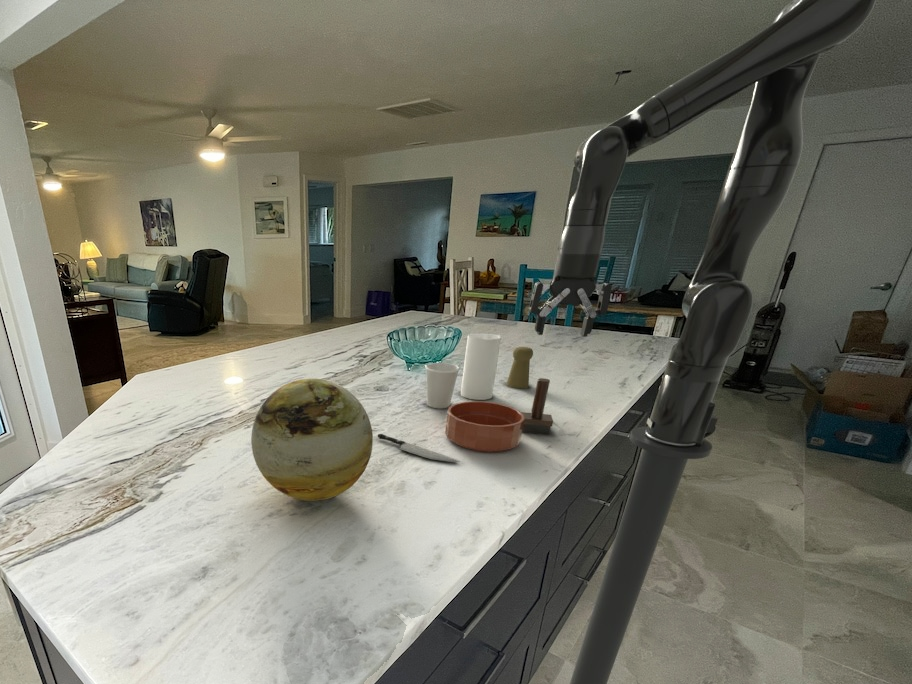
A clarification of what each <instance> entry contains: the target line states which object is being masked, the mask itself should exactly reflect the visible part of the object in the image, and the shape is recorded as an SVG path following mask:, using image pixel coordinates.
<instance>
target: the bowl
mask: <svg viewBox="0 0 912 684" xmlns="http://www.w3.org/2000/svg"><path fill="white" fill-rule="evenodd" d="M521 412H522V411H520V410H518V409H516V408H514V407H513V406H509V405H506V404H502V403H497V402H491V401H483V400H476V401H475V400H473V401H472V400H471V401H462V402H461V401H460V402H457V403H454V404H452V405H450V406H449V407H447V413H446V420H445V429H444V430H445V431H444V434H445V436H446V438H447V439H449V440H450V441H452V442H453V443H454V444H456V445H457V446H460V447H461V448H464V449H468V450H472V451H477V452H487V453H495V452H504V451H507V450H511V449H513V448H515V447H517V446H519V444H520V443H521V441H522V437H523V436H522V434H523V432H522V430H523V425H524V420H525V418H524V415H523V414H522V413H521Z"/></svg>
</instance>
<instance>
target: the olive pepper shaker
mask: <svg viewBox="0 0 912 684" xmlns="http://www.w3.org/2000/svg"><path fill="white" fill-rule="evenodd" d="M533 355H534V350H533V349H532V348H531V347H528V346H517V347H515V348H514V349H513V351H512V356H513V357H512V358H513V361H512V365H511V368H510V371H509V375H508V377H507V380H506V386H507V387H509V388H514V389H528V388H529V384H530V366H531V365H530V364H531V362H530V360H531V359H532V358H533Z"/></svg>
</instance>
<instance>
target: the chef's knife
mask: <svg viewBox="0 0 912 684" xmlns="http://www.w3.org/2000/svg"><path fill="white" fill-rule="evenodd" d="M377 437H378V439H380V440H384V441H389V442H391V443H394V444H396V445H399V446H400V447H399V450H401V451H404V452H408V453H410V454H413V455H416V456H420V457H422V458H426V459H429V460H435V461H442V462H448V463H452V462H453V463H455V462H461V461H460V460H457V459H455V458H453V457H449V456H447V455H444V454H441V453H438V452H435V451H433V450H430V449H426V448H424V447H420V446H417V445H416V444H412V443H408V442H407V441H404V440H401V439H397V438H394V437H391V436H389V435H385V434H383V433H378V434H377Z"/></svg>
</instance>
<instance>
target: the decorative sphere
mask: <svg viewBox="0 0 912 684" xmlns="http://www.w3.org/2000/svg"><path fill="white" fill-rule="evenodd" d="M373 437H374V436H373V428H372V424H371V420H370V418H369V415H368V413H367V411H366V409H365V407H364V406H363V404H362V403H361V401H360V400H359V399H358V398H357V397H356V396H355V395H354V394H353V393H352V392H351V391H350V390H348V389H347V388H345V387H344V386H342V385H340V384H338V383H335V382H333V381H332V380H328V379H322V378H303V379H298V380H293V381H290V382H289V383H286V384H284V385H282V386H280V387H279V388H277V389H276V390H275V391H273V392H272V393H271V394H270V395H269V396H268V397H267V398H265V400H264V401H263V403H262V405H261V406H260V408H259V409H258V411H257V413H256V416H255V418H254V421H253V425H252V429H251V438H250V439H251V440H250V441H251V443H250V445H251V450H252V451H251V453H252V456H253V459H254V461H255V464H256V466H257V469H258V470H259V472H260V474H261V475H262V476H263V478H264V479H265V480H266V481H267V482H268V484H270V485H271V487H273V488H274V489H276V490H277V491H278V492H280V493H282V494H283V495H285V496H287V497H289V498H293V499H297V500H299V501H307V502H309V501H310V502H312V501H313V502H315V501H324V500H328V499H331V498H335V497H337V496H338V495H341V494H343V493H344V492H346V491H347V490H349V489H350V488H351V487H352V486H354V484H355V483H356V482H358V480H359V479H360V478H361V477H362V475H363V474H364V472H365V471H366V468H367V466H368V464H369V462H370V459H371V456H372V451H373V445H374V441H373V440H374V438H373Z"/></svg>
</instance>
